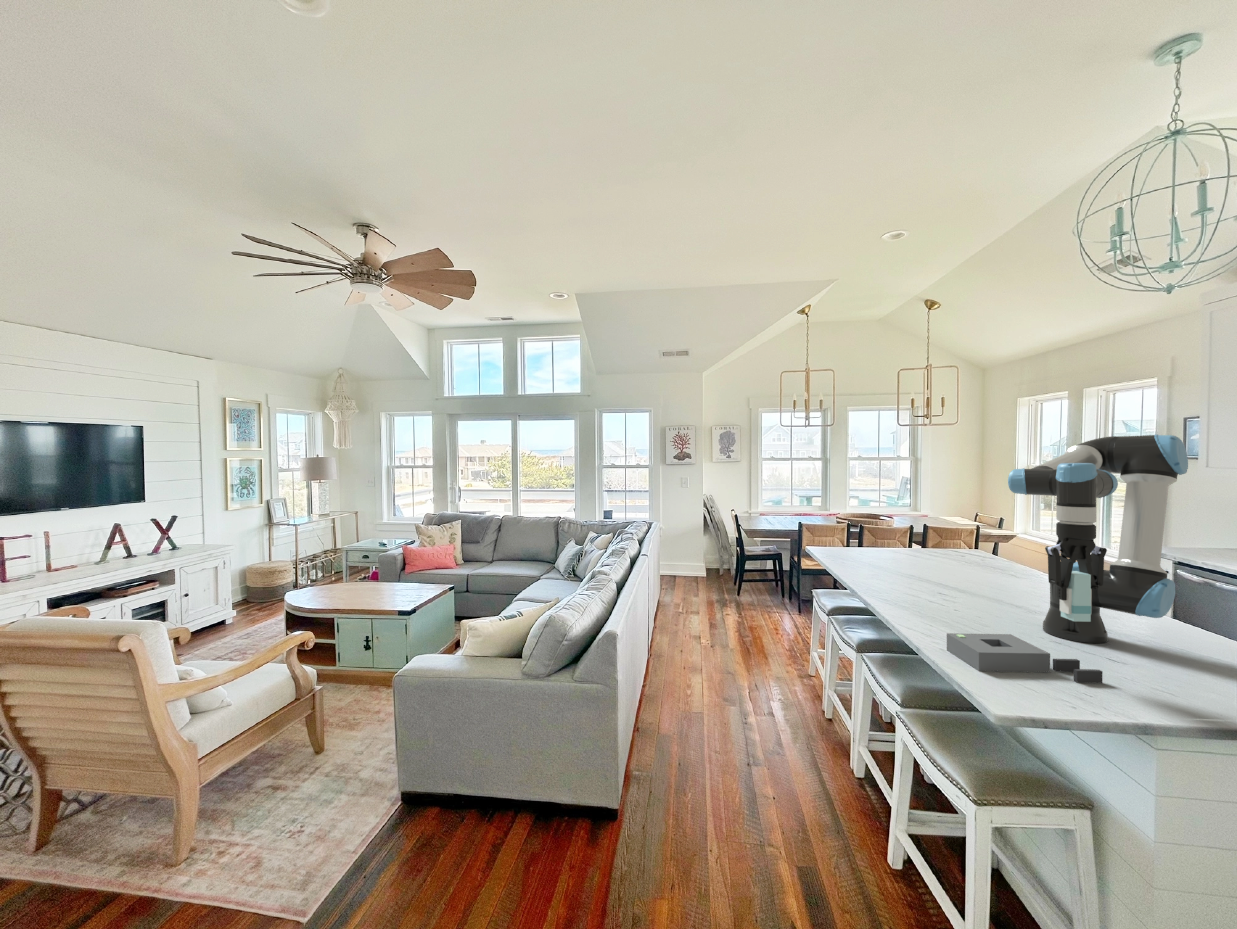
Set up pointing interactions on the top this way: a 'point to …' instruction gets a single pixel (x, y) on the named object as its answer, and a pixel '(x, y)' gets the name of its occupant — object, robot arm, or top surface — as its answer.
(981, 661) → the port block
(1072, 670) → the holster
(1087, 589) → the plug
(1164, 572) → the robot arm
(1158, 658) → the top surface
